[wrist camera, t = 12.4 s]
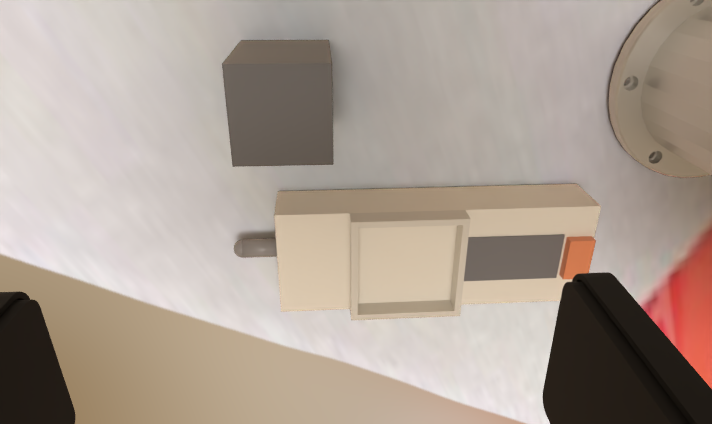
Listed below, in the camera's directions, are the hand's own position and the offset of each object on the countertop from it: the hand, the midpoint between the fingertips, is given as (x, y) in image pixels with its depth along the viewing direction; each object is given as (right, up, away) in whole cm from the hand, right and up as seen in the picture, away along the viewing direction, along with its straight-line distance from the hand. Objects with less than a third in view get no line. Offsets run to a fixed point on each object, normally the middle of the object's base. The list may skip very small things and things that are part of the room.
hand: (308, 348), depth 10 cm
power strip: (+4, +1, +27) cm, 28 cm away
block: (-3, +10, +22) cm, 25 cm away
